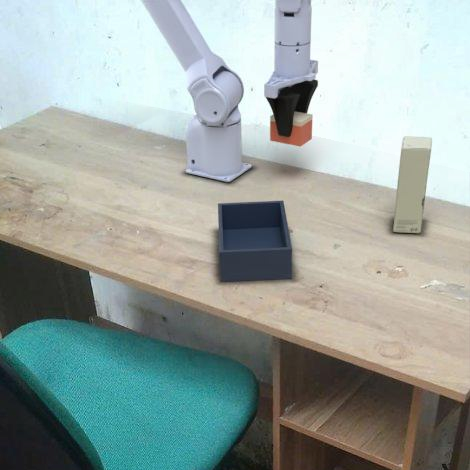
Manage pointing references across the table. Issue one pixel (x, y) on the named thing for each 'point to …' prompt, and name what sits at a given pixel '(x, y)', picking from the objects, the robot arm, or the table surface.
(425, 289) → the table surface
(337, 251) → the table surface
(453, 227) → the table surface
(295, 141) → the box
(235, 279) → the navy blue open bin
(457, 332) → the table surface
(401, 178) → the box
